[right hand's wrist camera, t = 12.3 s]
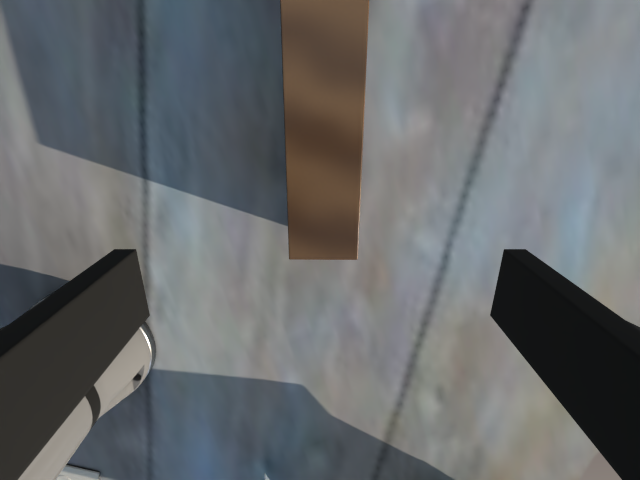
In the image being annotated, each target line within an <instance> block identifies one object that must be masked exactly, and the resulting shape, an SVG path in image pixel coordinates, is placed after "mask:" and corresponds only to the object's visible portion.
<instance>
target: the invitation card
mask: <svg viewBox="0 0 640 480" xmlns="http://www.w3.org/2000/svg"><path fill="white" fill-rule="evenodd" d="M99 474H100V472H95V471H91V470H86V469H82V468H77V467H73V466H69V465H65V467H64V468H63V470H62V471H61V473H60V474H59V476H58V477H57V478H56V480H99Z"/></svg>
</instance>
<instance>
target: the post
mask: <svg viewBox="0 0 640 480" xmlns="http://www.w3.org/2000/svg"><path fill="white" fill-rule="evenodd" d="M280 8H281V36H282V65H283V94H284V123H285V152H286V180H287V209H288V238H289V259H325V260H357V259H358V241H359V218H360V196H361V173H362V150H363V127H364V105H365V82H366V59H367V37H368V14H369V0H280Z"/></svg>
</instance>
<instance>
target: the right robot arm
mask: <svg viewBox="0 0 640 480" xmlns="http://www.w3.org/2000/svg"><path fill="white" fill-rule="evenodd" d="M149 316H150V314H149V310H148V305H147V300H146V295H145V290H144V286H143V281H142V276H141V271H140V266H139V262H138V257H137V252H136V249H114V250H113V251H112V252H110V253H109V254H107V255H106V256H105V257H103V258H102V259H100V260H99V261H97V262H96V263H95V264H93V265H92V266H90V267H89V268H88V269H86V270H85V271H83V272H82V273H81V274H79V275H78V276H76V277H75V278H74V279H72V280H71V281H69V282H68V283H67V284H65V285H64V286H62V287H61V288H60V289H58V290H57V291H55V292H54V293H52V294H50V295H48V296H46V297H45V298H43V299H42V300H41V301H39V302H38V303H36V304H35V305H34V306H33V307H31V308H30V310H29V311H27V312H26V313H24V314H23V315H22V316H20V317H19V318H17V319H16V320H15V321H13V322H12V323H10V324H9V325H7V326H5V327H3V328H1V329H0V480H56V478H57V477H58V476H59V474H60V473H61V471H62V470H63V468H64V467H65V465H66V464H67V463H68V461H69V460H70V458H71V457H72V455H73V454H74V453H75V451H76V450H77V448H78V447H79V445H80V444H81V442H82V441H83V440H84V438H85V437H86V435H87V434H88V432H89V431H90V429H91V428H92V427H93V425H94V424H95V423H96V421H97V420H98V419H99V418H100V417H101V416H102V415H103V414H105V413H106V412H107V411H109V410H110V409H111V408H113V407H114V406H115V405H116V404H118V403H119V402H120V401H122V400H123V399H124V398H126V397H127V396H128V395H129V394H131V393H132V392H133V391H135V390H136V389H137V388H138V387H139V385H140V384H141V383H142V382H143V381H144V380H145V378H146V377H147V375H148V374H149V372H150V370H151V369H152V367H153V364H154V361H155V357H156V346H155V341H154V338H153V335H152V333H151V331H150V329H149V327H148V325H147V324H146V322H145V321H146V319H147V318H148V317H149ZM490 316H491V317H492V318H493V319H494V321H495V322H496V323H497V324H498V326H499V327H500V328H501V329H502V331H503V332H504V333H505V334H506V336H507V337H508V338H509V339H510V340H511V342H512V343H513V344H514V345H515V347H516V348H517V349H518V350H519V352H520V353H521V354H522V355H523V357H524V358H525V359H526V360H527V362H528V363H529V364H530V365H531V367H532V368H533V369H534V370H535V372H536V373H537V374H538V375H539V377H540V378H541V379H542V380H543V382H544V383H545V384H546V385H547V387H548V388H549V389H550V390H551V392H552V393H553V394H554V395H555V397H556V398H557V399H558V400H559V402H560V403H561V404H562V405H563V407H564V408H565V409H566V410H567V412H568V413H569V414H570V415H571V417H572V418H573V419H574V420H575V422H576V423H577V424H578V425H579V427H580V428H581V429H582V430H583V431H584V433H585V434H586V435H587V436H588V438H589V439H590V440H591V441H592V443H593V444H594V445H595V446H596V448H597V449H598V450H599V451H600V453H601V454H602V455H603V456H604V458H605V459H606V460H607V461H608V463H609V464H610V465H611V466H612V468H613V469H614V470H615V471H616V473H617V474H618V475H619V476H620V478H621V479H622V480H640V327H638V326H636V325H634V324H632V323H630V322H628V321H625V320H624V319H623V318H621V317H620V316H618V315H617V314H616V313H614V312H613V311H611V310H610V309H608V308H607V307H606V306H604V305H603V304H601V303H600V302H599V301H597V300H596V299H594V298H593V297H592V296H590V295H589V294H587V293H586V292H585V291H583V290H582V289H580V288H579V287H578V286H576V285H575V284H573V283H572V282H571V281H569V280H568V279H566V278H565V277H564V276H562V275H561V274H559V273H558V272H557V271H555V270H554V269H552V268H551V267H550V266H548V265H547V264H545V263H544V262H543V261H541V260H540V259H538V258H537V257H535V256H534V255H533V254H531V253H530V252H528V251H527V250H526V249H504V252H503V257H502V262H501V266H500V271H499V276H498V281H497V286H496V290H495V295H494V300H493V305H492V310H491V314H490Z"/></svg>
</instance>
